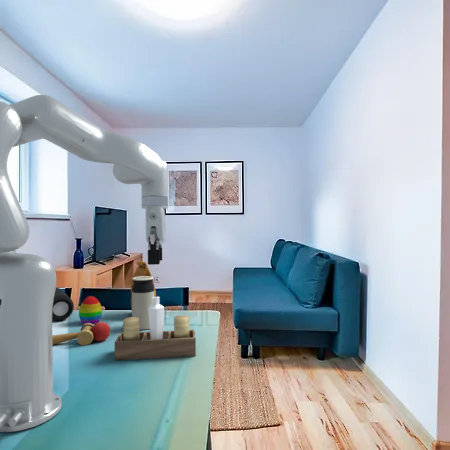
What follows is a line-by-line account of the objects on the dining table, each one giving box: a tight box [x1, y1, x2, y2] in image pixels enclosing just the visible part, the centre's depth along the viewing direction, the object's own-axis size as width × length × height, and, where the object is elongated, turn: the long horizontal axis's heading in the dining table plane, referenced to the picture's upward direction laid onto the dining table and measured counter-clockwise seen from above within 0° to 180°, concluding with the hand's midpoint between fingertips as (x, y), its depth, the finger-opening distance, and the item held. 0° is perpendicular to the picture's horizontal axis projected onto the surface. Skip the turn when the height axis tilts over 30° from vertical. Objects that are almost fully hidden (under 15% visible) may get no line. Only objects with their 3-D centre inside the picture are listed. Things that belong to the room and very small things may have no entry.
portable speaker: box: [52, 287, 75, 322], centre depth 142 cm, size 26×10×10 cm, turn 33°
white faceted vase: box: [148, 296, 165, 339], centre depth 99 cm, size 5×4×15 cm
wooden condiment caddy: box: [114, 314, 197, 361], centre depth 99 cm, size 8×22×10 cm, turn 96°
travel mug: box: [131, 275, 155, 331], centre depth 124 cm, size 8×8×18 cm
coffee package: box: [130, 260, 157, 309], centre depth 140 cm, size 10×12×22 cm
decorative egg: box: [78, 295, 103, 325], centre depth 130 cm, size 8×8×10 cm
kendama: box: [52, 321, 111, 346], centre depth 108 cm, size 8×6×18 cm
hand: (155, 262), depth 99 cm, fingers open, 9 cm apart
